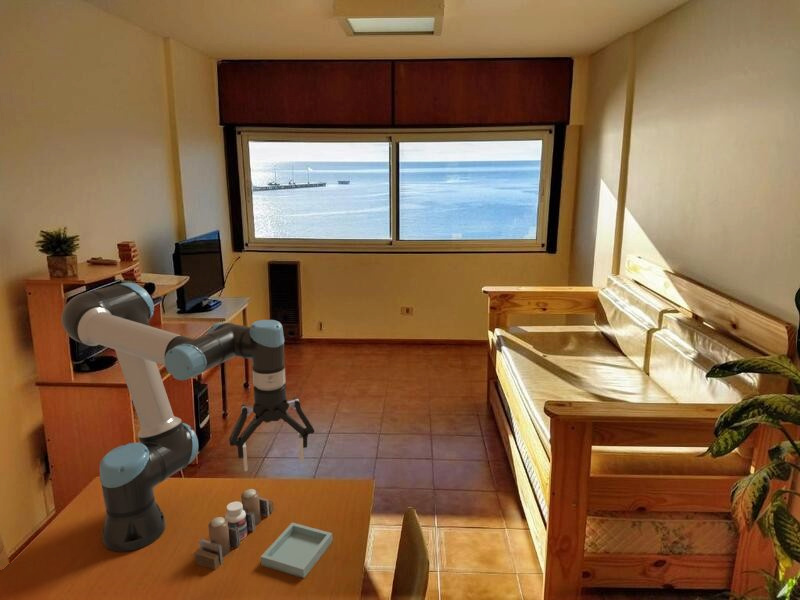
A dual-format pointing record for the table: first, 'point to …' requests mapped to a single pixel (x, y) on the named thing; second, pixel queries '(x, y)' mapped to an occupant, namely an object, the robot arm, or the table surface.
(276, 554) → the tray
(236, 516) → the pill bottle
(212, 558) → the clip rail
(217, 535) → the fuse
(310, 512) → the table surface
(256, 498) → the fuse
